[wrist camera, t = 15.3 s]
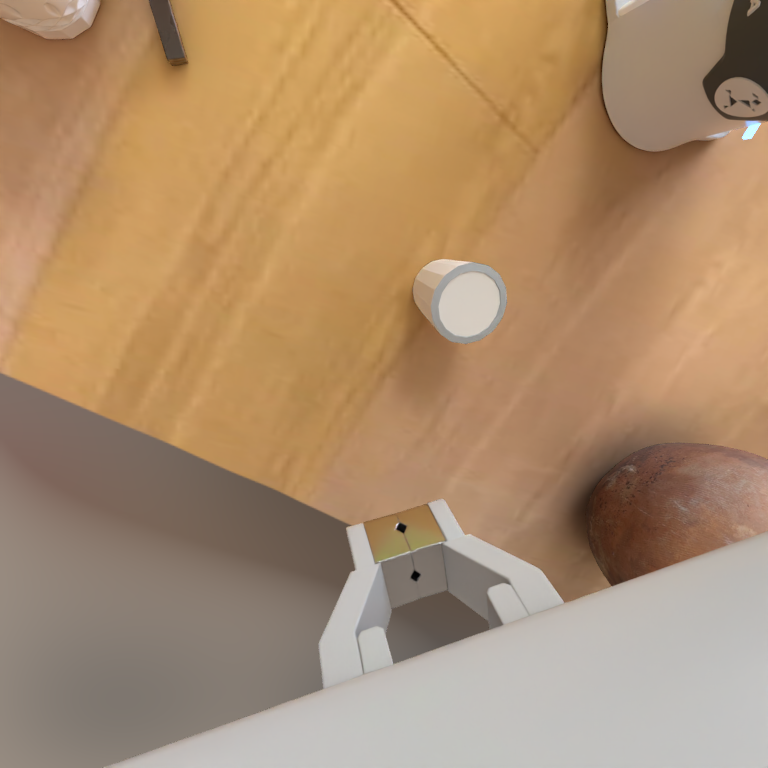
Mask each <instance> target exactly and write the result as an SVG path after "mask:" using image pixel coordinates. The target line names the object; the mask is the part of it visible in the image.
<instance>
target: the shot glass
mask: <svg viewBox="0 0 768 768" xmlns="http://www.w3.org/2000/svg"><path fill="white" fill-rule="evenodd" d="M413 296H414V301H415V303H416V305H417V306H418V308H419V309H420V311H421V312H422V313H423V314H424V316H425V317H426V318H427V319H428V320H429V321H430V323H431V324H432V325H433V326H434V327H435V329H436V330H437V331H438V332H439V333H440V334H441V335H442V336H444V337H445V338H447V339H448V340H450V341H451V342H456V343H463V344H468V343H471V342H475V341H479V340H481V339H483V338H484V337H485V336H487V335H488V334H490V333H491V332H492V331H493V330H494V329H495V328H496V326H497V325H498V323H499V322H500V321H501V319H502V317H503V314H504V311H505V307H506V304H507V296H506V287H505V284H504V282H503V280H502V278H501V276H500V274H499V273H497V272H496V271H495V270H493V269H492V268H491V267H490V266H488V265H484V264H479V263H475V262H466V261H456V260H447V259H440V260H436V261H431V262H430V263H428V264H427V265H426V266H424V267H423V268H422V269H421V270H420V272H419V273H418V275H417V276H416V278H415V281H414V286H413Z"/></svg>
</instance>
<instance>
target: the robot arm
mask: <svg viewBox="0 0 768 768" xmlns="http://www.w3.org/2000/svg"><path fill="white" fill-rule="evenodd" d="M606 10H607V19H608V33H607V40H606V45H605V51H604V57H603V65H602V88H603V96H604V101H605V106H606V109H607V112H608V115H609V117H610V120H611V122H612V124H613V126H614V127H615V129H616V130H617V132H618V133H619V134H620V135H621V137H622V138H623V139H624V140H626V141H627V142H628V143H629V144H631V145H632V146H634V147H636V148H638V149H641V150H645V151H654V152H656V151H664V150H668V149H672V148H674V147H677V146H679V145H682V144H684V143H687V142H690V141H693V140H702V141H710V140H715V139H719V138H722V137H724V136H726V135H727V134H728V133H729V132H730V131H732V130H736V129H740V128H744V127H748V126H749V127H748V129H747V130H746V132H745V134H744V135H743V137H742V138H743V139H751V138H752V136H753V135H754V133H755V132H756V130H757V128H758V127H759V125H760V124H761V123H763V122H767V121H768V0H606ZM346 532H347V536H348V540H349V545H350V549H351V553H352V557H353V562H354V566H355V571H353V572H351V573H350V575H349V577H348V579H347V582H346V584H345V586H344V588H343V590H342V593H341V595H340V597H339V599H338V602H337V604H336V606H335V608H334V611H333V613H332V615H331V617H330V619H329V621H328V624H327V626H326V628H325V630H324V632H323V635H322V637H321V639H320V641H319V644H318V646H319V655H320V664H321V673H322V682H323V689H322V690H319V691H316V692H314V693H311V694H308V695H305V696H302V697H300V698H297V699H294V700H291V701H288V702H286V703H283V704H280V705H277V706H274V707H272V708H269V709H266V710H263V711H260V712H257V713H255V714H252V715H249V716H246V717H243V718H241V719H238V720H235V721H232V722H229V723H227V724H224V725H221V726H218V727H215V728H213V729H210V730H207V731H204V732H201V733H199V734H196V735H193V736H190V737H187V738H185V739H182V740H179V741H176V742H173V743H171V744H168V745H165V746H162V747H159V748H157V749H154V750H151V751H148V752H145V753H142V754H140V755H137V756H134V757H131V758H128V759H126V760H123V761H120V762H117V763H114V764H112V765H109V766H106V767H103V768H768V531H766V532H763V533H760V534H757V535H755V536H752V537H749V538H746V539H743V540H741V541H738V542H735V543H732V544H729V545H727V546H724V547H721V548H718V549H715V550H713V551H710V552H707V553H704V554H701V555H699V556H696V557H693V558H690V559H687V560H684V561H682V562H679V563H676V564H673V565H670V566H668V567H665V568H662V569H659V570H656V571H654V572H651V573H648V574H645V575H642V576H640V577H637V578H634V579H631V580H628V581H626V582H623V583H620V584H617V585H614V586H611V587H609V588H606V589H603V590H600V591H597V592H595V593H592V594H589V595H586V596H583V597H581V598H578V599H575V600H572V601H569V602H566V603H565V602H564V601H563V600H562V598H561V597H560V596H559V594H558V593H557V591H556V590H555V589H554V587H553V586H552V584H551V583H550V582H549V580H548V579H547V577H546V576H545V575H544V573H543V572H542V570H541V569H539V568H537V567H535V566H533V565H531V564H529V563H527V562H525V561H523V560H521V559H519V558H517V557H515V556H513V555H511V554H509V553H507V552H505V551H503V550H501V549H499V548H497V547H495V546H493V545H491V544H489V543H487V542H485V541H483V540H481V539H479V538H477V537H475V536H473V535H471V534H468V535H465V534H464V533H463V531H462V529H461V528H460V526H459V524H458V522H457V521H456V519H455V517H454V515H453V514H452V512H451V510H450V509H449V507H448V505H447V503H446V502H445V500H444V499H439V500H436V501H432V502H429V503H427V504H424V505H420V506H417V507H414V508H411V509H408V510H404V511H401V512H398V513H395V514H392V515H388V516H384V517H381V518H377V519H373V520H370V521H366V522H363V523H361V524H357V525H353V526H349V527H346ZM446 590H448V591H449V592H450V593H451V594H453V595H454V596H455V597H457V598H458V599H459V600H461V601H462V602H463V603H465V604H466V605H467V606H469V607H470V608H471V609H473V610H474V611H475V612H477V613H478V614H479V615H481V616H482V617H483V618H485V619H486V620H487V621H489V630H488V631H485V632H482V633H479V634H477V635H474V636H471V637H468V638H466V639H462V640H460V641H457V642H454V643H451V644H448V645H446V646H443V647H440V648H437V649H435V650H432V651H429V652H426V653H423V654H421V655H418V656H415V657H412V658H410V659H406V660H403V661H401V662H398V663H395V664H393V661H392V657H391V654H390V650H389V647H388V643H387V639H386V636H385V635H386V631H387V628H388V624H389V620H390V616H391V612H392V610H391V609H393V608H396V607H398V606H401V605H404V604H406V603H409V602H412V601H415V600H417V599H420V598H423V597H426V596H430V595H433V594H437V593H440V592H443V591H446Z"/></svg>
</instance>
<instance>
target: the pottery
mask: <svg viewBox="0 0 768 768" xmlns="http://www.w3.org/2000/svg"><path fill="white" fill-rule="evenodd" d="M586 523H587V534H588V540H589V544H590V548H591V550H592V553H593V555H594V557H595V559H596V562H597V564H598V566H599V567H600V569H601V571H602V572H603V574H604V576H605V577H606V579H607V580H608V582H609V583H610V584H611V586H614V585H617V584H620V583H623V582H626V581H628V580H631V579H634V578H637V577H640V576H642V575H645V574H648V573H651V572H654V571H656V570H659V569H662V568H665V567H668V566H670V565H673V564H676V563H679V562H682V561H684V560H687V559H690V558H693V557H696V556H699V555H701V554H704V553H707V552H710V551H713V550H715V549H718V548H721V547H724V546H727V545H729V544H732V543H735V542H738V541H741V540H743V539H746V538H749V537H752V536H755V535H757V534H760V533H763V532H766V531H768V459H765V458H763V457H761V456H758V455H755V454H752V453H749V452H746V451H742V450H738V449H734V448H728V447H723V446H717V445H709V444H692V443H665V444H657V445H653V446H650V447H646V448H643V449H641V450H639V451H637V452H634V453H632V454H631V455H629V456H628V457H627V458H625V459H624V460H622V461H621V462H620V463H618V464H617V465H616V466H615V467H614V468H612V469H611V470H610V471H609V472H608V473H607V474H606V475H605V476H604V478H603V479H602V480H601V481H600V482H599V483H598V485H597V486H596V488H595V490H594V491H593V493H592V496H591V498H590V500H589V503H588V506H587V509H586Z"/></svg>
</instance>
